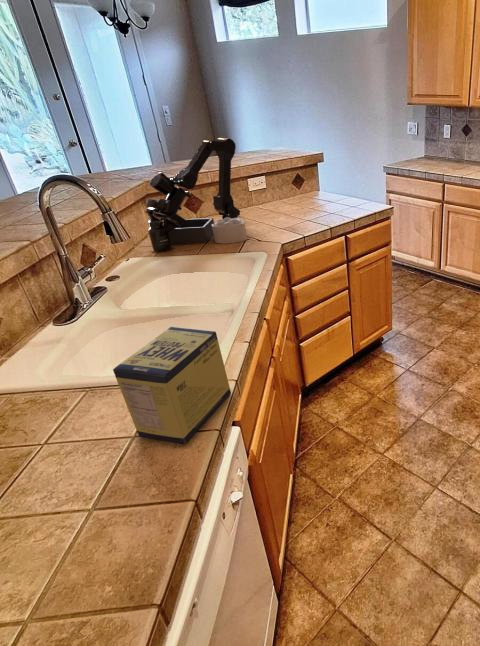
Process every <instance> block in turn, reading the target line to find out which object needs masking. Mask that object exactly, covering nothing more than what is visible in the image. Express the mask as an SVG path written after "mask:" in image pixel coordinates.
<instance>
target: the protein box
mask: <svg viewBox="0 0 480 646" xmlns="http://www.w3.org/2000/svg"><path fill="white" fill-rule="evenodd" d="M224 363H225V362H224V359H223V355H222V350H221V347H220V344H219V339H218V335H217V332H216V331H215V330H203V329H194V328H186V327H185V328H184V327H177V326H176V327H175V326H170V327H168V328H167V329H166V330H164V331H163V332H162V333H160V334H159V335H158V336H157V337H155V338H154V339H152V340H151V341H150V342H148V343H147V344H145V345H144V346H142V347H141V348H140V349H138V350H137V351H136V352H134V353H133V354H131V355H130V356H129V357H127V358H126V359H125V360H123V361H122V362H121V363H119V364H118V365H116V366H115V367H114V368H113V369H112V372H113V374H114V377H115V379H116V381H117V384H118V387H119V389H120V392H121V394H122V397H123V399H124V402H125V404H126V407H127V410H128V413H129V415H130V417H131V419H132V423H133V425H134V427H135V430H136V433H137V434H138V437H140V438H147V439H152V440H153V439H154V440H158V441H163V442H164V441H165V442H170V443H177V444H184V445H186V444H187V443H188V442H189V441H190V440H191V439H192V438H193V437H194V435H195V434H196V433H197V432H198V431H199V430H200V429H201V428H202V427H203V425H204V424H205V423H206V422H207V421H208V420H209V419H210V418H211V417H212V416H213V414H214V413H215V412H216V411H217V410H218V409H219V408H220V406H222V404H223V403H225V402H226V400H227V399H228V398H229V396H231V395H232V392H231V388H230V384H229V380H228V376H227V371H226V367H225V364H224Z"/></svg>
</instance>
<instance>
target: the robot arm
mask: <svg viewBox="0 0 480 646" xmlns="http://www.w3.org/2000/svg"><path fill="white" fill-rule="evenodd" d="M236 148H237V145H236V142H235V141H234V140H233V139H232V138H228V137H227V138H226V137H219V138H217V139H215V140H203V141H202V142H201V143H200V146H199V147H198V148H197V150H196V152H195V154H194V155H193V156H192V158H191V159H190V161H189V162H188V164H187V165H186V166H185V167H184V168H182V169H180V171H178V172H177V174H175V176H174V177H172V178H169V177H168V176H167V175H166V174H165V173H164V172H158V174H155V176H153V177H152V178H151V179H150V182H149V186H150V187H151V188H153V189H154V190H156V191H157V192H158V193H160V194H162V195H163V196H166V195H167V196H166V198H159V197H158V198H157V199H153V198H147V199H146V207H147V208H146V209H145V211H144V213H145V214H147V216H148V217H149V219H150V221H151V220H162V222H163V227H162V229H161V231H160V234H159V236H160V237H163V236H164V235H166V234H167V233H169V232H170V231H172V230H173V229H175V228H177V227H179V225H181V226H184V224H185V219H186V218H184V217H182V216H181V215H179V214H178V211H182V207H181V206H182V205H183V202H184V200H185V199H192V196H191V195H192V194H191V193H190V191H189V190H193V189H194V188H195V187H196V184H197V182H198V180H199V174H200V171H201V170H202V168H203V167H204V165H205V164H206V161H207V160H208V159H209V158H210V156H211V154H212V153H213V152H215V153H216V155H217V158H218V192H217V194H216V195H213V196H212V198H213V199H212V200H213V202H212V206H213V208H214V210H215V211H216V212H217V213H218V215H219V216H221V217H222V219H221V220H223V219H225V218H227V217H229V218H231V219H232V218H239V216H240V215H241V210H239V209H238V207H236V206H235V204H234V203H235V201H234V199H233V197H232V194H231V184H232V183H231V181H232V179H231V178H232V172H231V171H232V160H233V158H234V156H235V154H236ZM184 189H185V190H184ZM149 228H151V227H150V226H149Z"/></svg>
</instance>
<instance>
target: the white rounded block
mask: <svg viewBox="0 0 480 646" xmlns="http://www.w3.org/2000/svg"><path fill="white" fill-rule="evenodd" d="M222 219H223V218H222ZM222 219H218V220H216V222H214V224H212V229H213V234H214V235H213V239H214V242H215V243H217V244H233V243H241V242H244V241H248V235H247V229H246V225H245V221H244V219H241V218H240V217H238V218H232V219H231V218H229V217H227V218H225V219H223V220H222Z"/></svg>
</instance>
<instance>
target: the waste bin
mask: <svg viewBox="0 0 480 646" xmlns="http://www.w3.org/2000/svg"><path fill="white" fill-rule="evenodd" d="M184 219H185V224H184V226H181V225H179V227H177V228H175V229H173V230H172V231H170V232H169V233H168V234H169V238H170V242H171V245H183V244H199V243H200V244H201V243H209V241H210V240H211V239H212V238H213V237H214V234H213V229H212V224H214V223H215V221H214V217H204V218H184Z"/></svg>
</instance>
